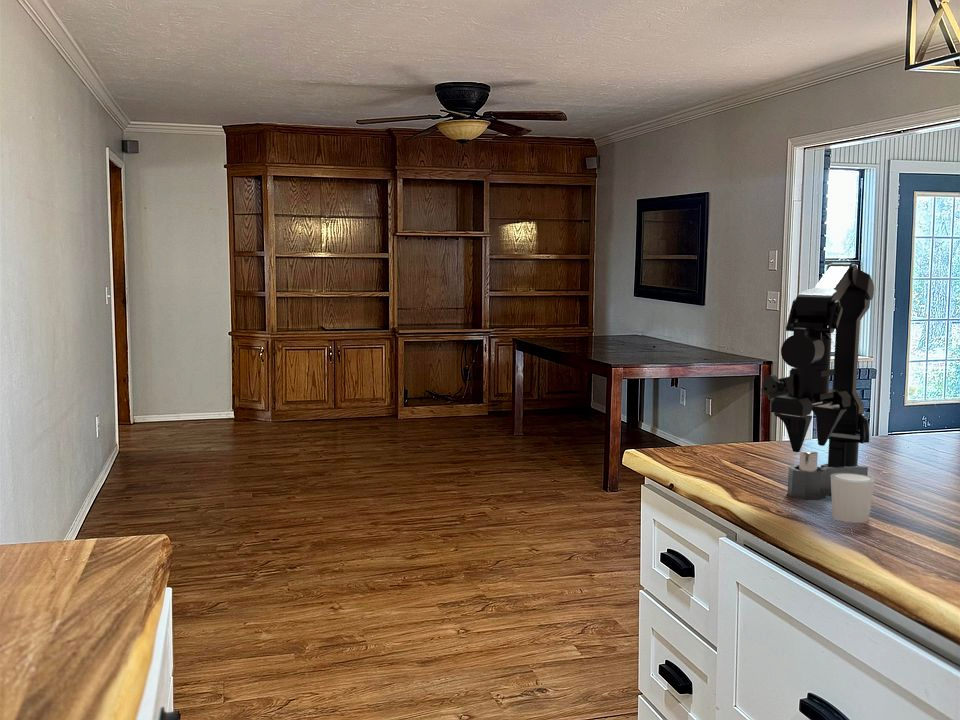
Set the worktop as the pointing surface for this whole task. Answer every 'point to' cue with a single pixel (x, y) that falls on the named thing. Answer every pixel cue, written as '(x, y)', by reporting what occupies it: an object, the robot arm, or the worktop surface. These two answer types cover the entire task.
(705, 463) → the worktop surface
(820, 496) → the grey ring with handle
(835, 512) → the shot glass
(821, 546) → the worktop surface
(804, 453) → the hinge pin
